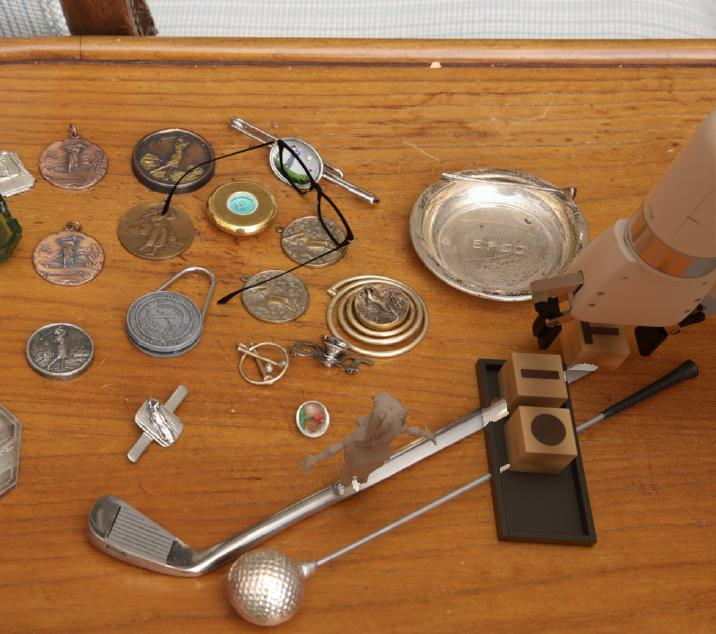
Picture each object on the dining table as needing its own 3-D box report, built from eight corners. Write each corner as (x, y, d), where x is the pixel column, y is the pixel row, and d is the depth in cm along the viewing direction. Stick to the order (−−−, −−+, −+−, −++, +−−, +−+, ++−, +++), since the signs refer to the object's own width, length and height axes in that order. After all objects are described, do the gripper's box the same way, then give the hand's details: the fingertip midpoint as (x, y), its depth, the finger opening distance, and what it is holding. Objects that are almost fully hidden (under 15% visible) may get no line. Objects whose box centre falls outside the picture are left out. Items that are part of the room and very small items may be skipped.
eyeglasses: (356, 260, 97) (363, 237, 93) (225, 317, 93) (228, 296, 90) (277, 154, 104) (281, 129, 101) (153, 203, 101) (153, 179, 97)
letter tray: (557, 371, 90) (564, 362, 88) (589, 548, 81) (597, 542, 79) (473, 366, 90) (478, 357, 89) (495, 542, 81) (502, 536, 80)
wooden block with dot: (551, 429, 86) (570, 407, 82) (558, 474, 84) (578, 454, 80) (502, 426, 86) (519, 404, 82) (509, 471, 84) (526, 450, 80)
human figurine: (402, 459, 85) (455, 367, 70) (417, 497, 83) (476, 410, 68) (278, 487, 84) (305, 399, 68) (290, 526, 82) (321, 445, 66)
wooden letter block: (602, 336, 92) (622, 311, 88) (610, 375, 90) (631, 352, 86) (557, 333, 92) (575, 308, 88) (564, 373, 90) (583, 349, 86)
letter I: (543, 377, 89) (561, 353, 85) (550, 419, 87) (569, 397, 83) (496, 374, 89) (512, 350, 85) (502, 416, 87) (519, 394, 83)
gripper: (773, 204, 76) (671, 313, 90) (564, 190, 76) (495, 301, 91) (800, 279, 72) (689, 380, 87) (580, 264, 72) (505, 368, 87)
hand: (590, 340), depth 89 cm, fingers open, 9 cm apart
